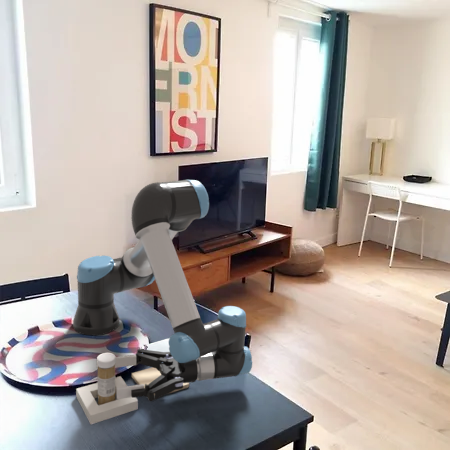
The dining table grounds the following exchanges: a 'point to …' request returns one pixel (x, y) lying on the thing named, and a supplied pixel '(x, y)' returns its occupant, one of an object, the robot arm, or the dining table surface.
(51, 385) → the dining table surface
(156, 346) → the hard drive
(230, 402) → the dining table surface
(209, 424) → the dining table surface
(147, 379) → the birch board
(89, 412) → the socket block
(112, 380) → the sprinkles bottle
